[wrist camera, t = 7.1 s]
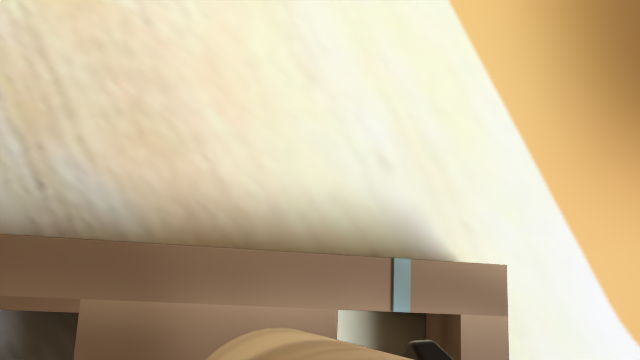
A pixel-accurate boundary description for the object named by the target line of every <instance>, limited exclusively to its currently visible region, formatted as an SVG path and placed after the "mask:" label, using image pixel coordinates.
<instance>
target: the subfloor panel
mask: <svg viewBox="0 0 640 360" xmlns="http://www.w3.org/2000/svg"><path fill="white" fill-rule="evenodd" d="M0 310H18V311H46V312H74V313H79V316H78V325H77V333H76V341H75V349H74V357H73V360H206V359H207V358H208V357H209V356H210V355H211V354H212V353H213V352H215V351H216V350H217V349H218V348H220V347H221V346H223V345H224V344H226V343H227V342H229V341H231V340H233V339H235V338H237V337H239V336H241V335H244V334H247V333H250V332H253V331H256V330H262V329H267V328H289V329H296V330H300V331H305V332H309V333H313V334H317V335H320V336H324V337H328V338H332V339H336V340H337V322H338V310H361V311H385V312H409V313H426V340H432V341H434V342H435V343H437V344H438V345H439V346H440V347H441V348H442V349H443V350H444V351H445V352H446V353H447V354H448V355H449V356H450V357H452V358H453V359H454V360H509V342H508V299H507V265H498V264H482V263H465V262H449V261H433V260H417V259H405V258H384V257H368V256H352V255H336V254H319V253H303V252H287V251H271V250H254V249H238V248H222V247H206V246H190V245H173V244H157V243H141V242H125V241H108V240H92V239H76V238H60V237H44V236H27V235H11V234H0Z"/></svg>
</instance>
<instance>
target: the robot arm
mask: <svg viewBox="0 0 640 360" xmlns="http://www.w3.org/2000/svg"><path fill="white" fill-rule="evenodd" d="M403 357H406V358H410V359H413V360H454V359H453V358H452V357H450V356H449V355H448V354H447V353H446V352H445V351H444V350H443V349H442V348H441V347H440V346H439V345H438V344H437V343H435V342H434V341H432V340H416V341H410V342H409V343H408V344H407V345H406V348H405V351H404V355H403Z"/></svg>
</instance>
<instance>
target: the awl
mask: <svg viewBox="0 0 640 360" xmlns="http://www.w3.org/2000/svg"><path fill="white" fill-rule="evenodd" d="M206 360H413V359H410V358H406V357H402V356H398V355H394V354H390V353H386V352H382V351H379V350H375V349H371V348H367V347H363V346H359V345H355V344H351V343H348V342H344V341H340V340H336V339H332V338H328V337H324V336H320V335H317V334H313V333H309V332H305V331H300V330H296V329H289V328H267V329H262V330H256V331H253V332H250V333H247V334H244V335H241V336H239V337H237V338H235V339H233V340H231V341H229V342H227V343H226V344H224V345H223V346H221V347H220V348H218V349H217V350H216V351H215V352H213V353H212V354H211V355H210V356H209V357H208V358H207V359H206Z"/></svg>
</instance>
